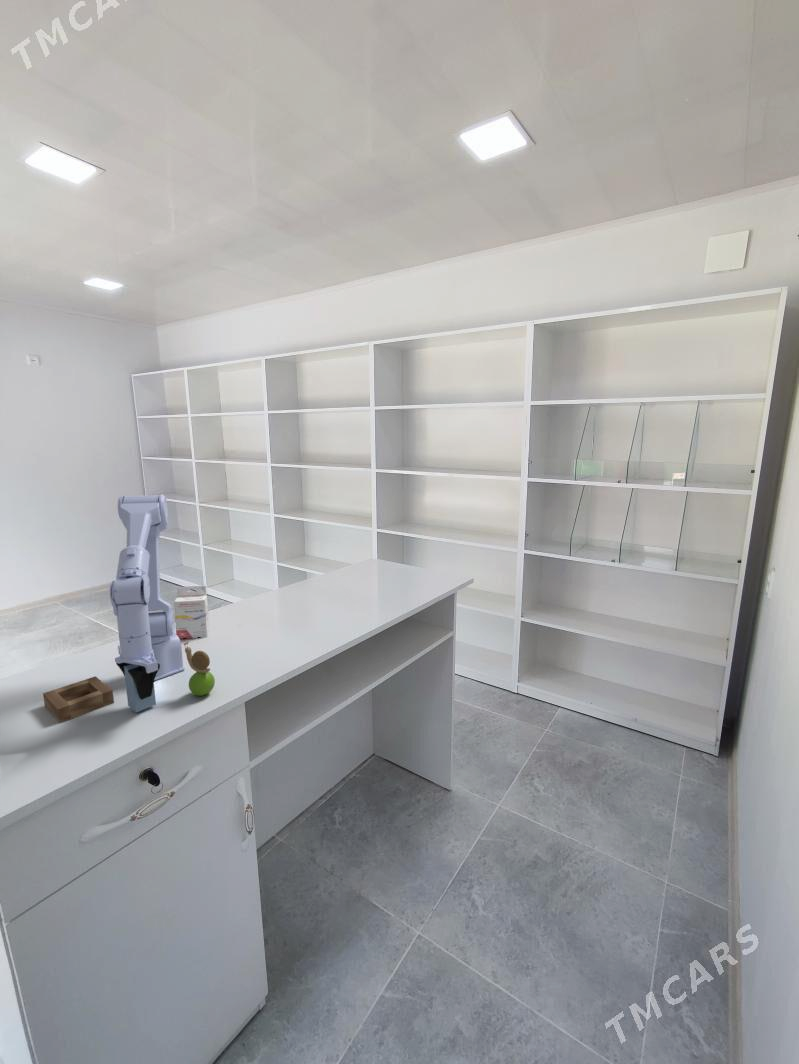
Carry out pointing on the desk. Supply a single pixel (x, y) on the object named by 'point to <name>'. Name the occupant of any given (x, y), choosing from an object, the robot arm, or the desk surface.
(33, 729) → the desk surface
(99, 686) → the walnut collar
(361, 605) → the desk surface
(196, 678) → the snail figurine
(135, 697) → the slate-blue peg
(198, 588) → the ink cartridge box
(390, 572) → the desk surface
